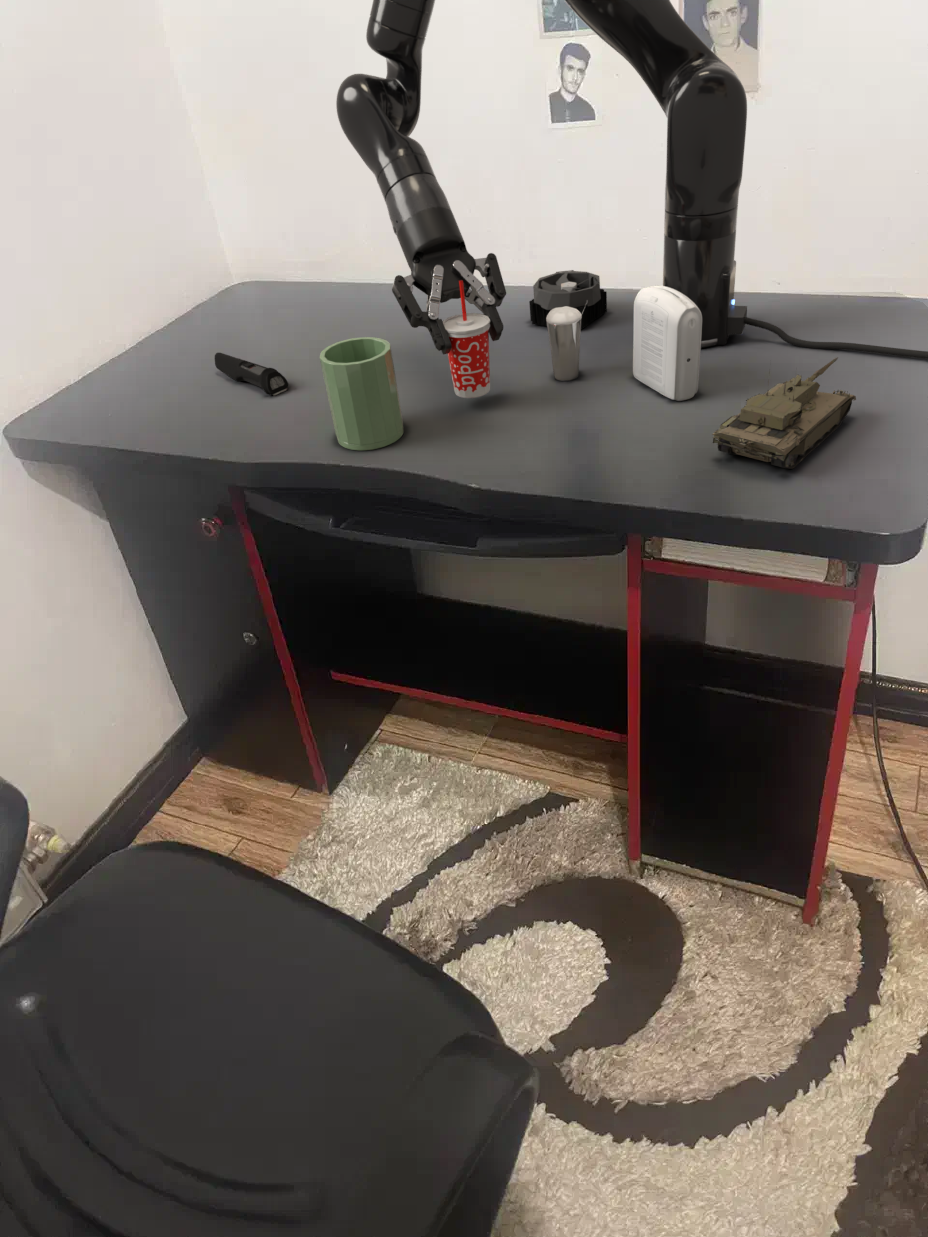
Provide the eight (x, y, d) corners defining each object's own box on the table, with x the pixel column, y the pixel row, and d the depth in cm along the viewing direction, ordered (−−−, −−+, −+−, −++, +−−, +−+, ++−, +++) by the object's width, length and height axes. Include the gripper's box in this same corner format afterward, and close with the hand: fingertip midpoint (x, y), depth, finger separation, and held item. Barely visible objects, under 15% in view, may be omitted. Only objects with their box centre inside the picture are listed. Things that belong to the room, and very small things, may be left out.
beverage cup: (441, 398, 117) (427, 288, 108) (459, 379, 121) (447, 271, 113) (486, 402, 115) (475, 290, 106) (502, 381, 119) (493, 272, 111)
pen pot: (414, 422, 117) (401, 338, 110) (387, 452, 111) (371, 365, 104) (355, 418, 120) (339, 335, 113) (326, 448, 114) (307, 363, 107)
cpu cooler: (579, 295, 131) (519, 288, 136) (580, 334, 134) (522, 325, 139) (614, 272, 137) (555, 266, 142) (614, 310, 140) (557, 303, 146)
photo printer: (703, 395, 114) (709, 295, 106) (674, 404, 113) (678, 304, 105) (655, 369, 121) (657, 274, 114) (628, 378, 120) (628, 282, 113)
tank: (702, 467, 100) (707, 380, 94) (798, 390, 112) (807, 309, 106) (777, 488, 95) (787, 397, 89) (868, 404, 107) (882, 320, 101)
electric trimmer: (233, 367, 140) (227, 346, 138) (291, 388, 130) (286, 366, 128) (212, 375, 138) (206, 355, 136) (269, 397, 128) (264, 376, 126)
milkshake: (587, 382, 120) (585, 307, 114) (547, 383, 122) (543, 308, 116) (590, 368, 124) (589, 294, 118) (551, 369, 125) (547, 296, 119)
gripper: (374, 217, 109) (425, 344, 107) (483, 193, 113) (533, 315, 111) (366, 253, 116) (414, 372, 114) (469, 229, 120) (516, 344, 118)
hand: (472, 343), depth 113 cm, fingers closed on beverage cup, 6 cm apart
